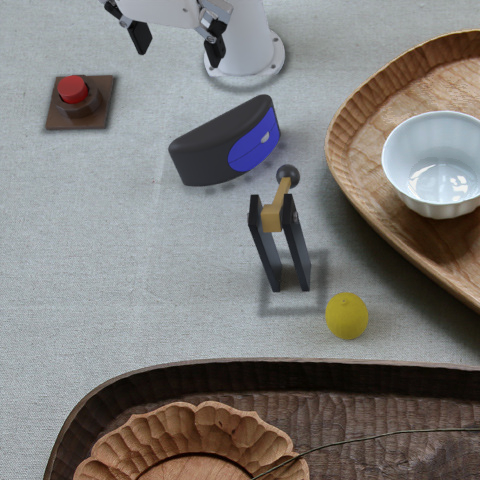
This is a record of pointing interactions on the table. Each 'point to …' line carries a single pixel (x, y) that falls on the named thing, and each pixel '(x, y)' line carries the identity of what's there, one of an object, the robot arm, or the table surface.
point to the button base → (81, 106)
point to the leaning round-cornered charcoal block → (227, 144)
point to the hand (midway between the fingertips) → (182, 53)
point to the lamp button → (72, 89)
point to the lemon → (346, 315)
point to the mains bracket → (268, 247)
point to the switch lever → (279, 198)
